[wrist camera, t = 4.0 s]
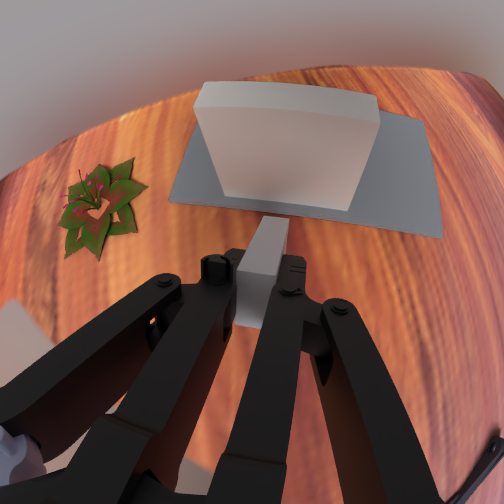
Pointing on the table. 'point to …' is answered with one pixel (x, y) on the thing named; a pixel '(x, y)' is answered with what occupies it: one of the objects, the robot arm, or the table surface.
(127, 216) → the lily flower
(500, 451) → the bracket
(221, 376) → the table surface
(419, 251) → the table surface
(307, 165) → the tile
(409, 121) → the mat
